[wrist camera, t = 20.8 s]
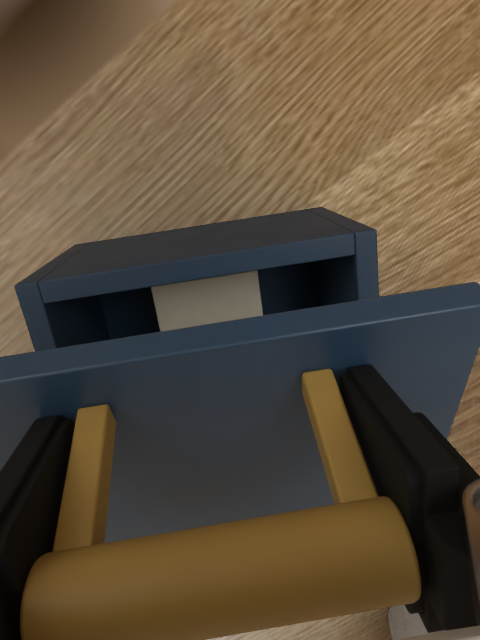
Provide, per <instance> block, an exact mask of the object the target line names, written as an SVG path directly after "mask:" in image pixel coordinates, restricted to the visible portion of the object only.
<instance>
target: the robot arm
mask: <svg viewBox="0 0 480 640" xmlns="http://www.w3.org/2000/svg"><path fill="white" fill-rule="evenodd" d="M339 387H340V393H341V396H342V398H343V401H344V404H345V406H346V409H347V412H348V415H349V417H350V420H351V423H352V425H353V428H354V431H355V434H356V436H357V439H358V442H359V444H360V447H361V450H362V452H363V455H364V458H365V461H366V463H367V466H368V469H369V471H370V474H371V477H372V480H373V482H374V485H375V488H376V490H377V493H378V496H379V497H380V496H386V497H389V498H391V499H392V500H393V501H394V502H395V504H396V505H397V507H398V508H399V510H400V512H401V513H402V515H403V517H404V519H405V521H406V524H407V526H408V529H409V531H410V534H411V537H412V540H413V543H414V546H415V550H416V554H417V558H418V563H419V568H420V576H421V595H420V598H419V599H418V600H417V601H416V602H415V603H411V604H406V605H405V607H406V609H407V611H408V612H409V613H410V614H415V613H418V614H419V616H420V618H421V620H422V622H423V624H424V626H425V628H426V630H427V632H428V633H430V634H425V635H419V636H413V637H407V638H401V639H395V640H480V476H479V475H478V474H477V473H476V472H475V471H474V470H473V468H472V467H471V466H470V465H469V464H468V463H467V462H466V461H465V459H464V458H463V457H462V456H461V455H460V454H459V453H458V452H457V451H456V449H455V448H454V447H453V446H452V445H451V444H450V443H449V442H448V441H447V439H446V438H445V437H444V436H443V435H442V434H441V433H440V432H439V430H438V429H437V428H436V427H435V426H434V425H433V424H432V423H431V422H430V420H429V419H428V418H427V417H426V416H425V415H424V414H423V413H421V412H415V413H413V412H412V411H411V410H410V409H409V408H408V406H407V405H406V404H405V403H404V402H403V401H402V399H401V398H400V397H399V396H398V395H397V394H396V392H395V391H394V390H393V389H392V388H391V387H390V385H389V384H388V383H387V382H386V381H385V380H384V378H383V377H382V376H381V375H380V374H379V373H378V371H377V370H376V369H375V368H374V367H373V366H372V365H371V364H369V365H363V366H357V367H351V368H347V370H346V375H340V376H339ZM74 428H75V423H74V421H73V420H71V419H70V420H66V418H65V417H64V416H63V415H56V416H50V417H44V418H38V419H36V420H35V421H34V422H33V424H32V425H31V427H30V428H29V430H28V431H27V433H26V434H25V435H24V437H23V438H22V440H21V441H20V443H19V444H18V446H17V447H16V449H15V450H14V452H13V453H12V455H11V456H10V458H9V459H8V461H7V462H6V464H5V465H4V466H3V468H2V469H1V471H0V640H21V632H20V611H21V602H22V595H23V590H24V586H25V582H26V579H27V576H28V574H29V571H30V569H31V567H32V566H33V564H34V562H35V561H36V560H37V559H38V558H39V557H41V556H42V555H44V554H46V553H49V552H52V551H53V545H54V540H55V534H56V529H57V523H58V518H59V512H60V506H61V501H62V495H63V490H64V484H65V479H66V473H67V467H68V462H69V456H70V451H71V445H72V439H73V434H74ZM443 630H446V631H443ZM437 631H442V632H437ZM431 632H436V633H431Z"/></svg>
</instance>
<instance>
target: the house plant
mask: <svg viewBox="0 0 480 640" xmlns="http://www.w3.org/2000/svg"><path fill="white" fill-rule="evenodd" d="M388 622H389V627H390V631H391V635H392V640H395V639H401V638H407V637H413V636H419V635H425V634H430V633H428V632H427V630H426V628H425V626H424V624H423V622H422V620H421V618H420V616H419V614H418V613H415V614H410V613H409V612H408V611H407V609H406V607H405V605H400V606H394V607H390V609H389V613H388ZM443 631H446V630H443ZM437 632H442V631H437ZM431 633H436V632H431Z"/></svg>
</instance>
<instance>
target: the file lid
mask: <svg viewBox="0 0 480 640" xmlns="http://www.w3.org/2000/svg"><path fill="white" fill-rule="evenodd" d="M479 346H480V285H479V284H478V283H476V282H470V283H464V284H458V285H452V286H445V287H439V288H433V289H426V290H420V291H414V292H407V293H401V294H395V295H389V296H382V297H376V298H370V299H363V300H357V301H351V302H344V303H338V304H332V305H326V306H319V307H313V308H307V309H300V310H294V311H288V312H281V313H275V314H269V315H263V316H256V317H250V318H244V319H237V320H231V321H225V322H218V323H212V324H206V325H200V326H193V327H187V328H181V329H174V330H168V331H162V332H155V333H149V334H143V335H137V336H130V337H124V338H118V339H111V340H105V341H99V342H92V343H86V344H80V345H74V346H67V347H61V348H55V349H48V350H42V351H36V352H29V353H23V354H17V355H11V356H4V357H0V471H1V469H2V468H3V466H4V465H5V464H6V462H7V461H8V459H9V458H10V456H11V455H12V453H13V452H14V450H15V449H16V447H17V446H18V444H19V443H20V441H21V440H22V438H23V437H24V435H25V434H26V433H27V431H28V430H29V428H30V427H31V425H32V424H33V422H34V421H35V420H36V419H38V418H44V417H50V416H56V415H63V416H64V417H65V418H66V420H70V419H71V420H73V421H74V423H75V428H74V434H73V439H72V445H71V451H70V456H69V462H68V467H67V473H66V479H65V484H64V490H63V495H62V501H61V506H60V512H59V518H58V523H57V529H56V534H55V540H54V545H53V551H52V552H49V553H46V554H44V555H42V556H41V557H39V558H38V559H37V560H36V561H35V562H34V564H33V566H32V567H31V569H30V571H29V574H28V576H27V579H26V582H25V586H24V590H23V595H22V602H21V611H20V632H21V640H206V639H211V638H217V637H223V636H228V635H234V634H240V633H246V632H251V631H257V630H263V629H268V628H274V627H280V626H286V625H291V624H297V623H303V622H309V621H314V620H320V619H326V618H331V617H337V616H343V615H349V614H354V613H360V612H366V611H371V610H377V609H383V608H389V607H394V606H400V605H406V604H411V603H415V602H416V601H417V600H418V599H419V598H420V595H421V576H420V568H419V563H418V558H417V554H416V550H415V546H414V543H413V540H412V537H411V534H410V531H409V529H408V526H407V524H406V521H405V519H404V517H403V515H402V513H401V512H400V510H399V508H398V507H397V505H396V504H395V502H394V501H393V500H392V499H391V498H389V497H386V496H380V497H379V496H378V493H377V490H376V488H375V485H374V482H373V480H372V477H371V474H370V471H369V469H368V466H367V463H366V461H365V458H364V455H363V452H362V450H361V447H360V444H359V442H358V439H357V436H356V434H355V431H354V428H353V425H352V423H351V420H350V417H349V415H348V412H347V409H346V406H345V404H344V401H343V398H342V396H341V393H340V387H339V376H340V375H346V370H347V368H351V367H357V366H363V365H369V364H371V365H372V366H373V367H374V368H375V369H376V370H377V371H378V373H379V374H380V375H381V376H382V377H383V378H384V380H385V381H386V382H387V383H388V384H389V385H390V387H391V388H392V389H393V390H394V391H395V392H396V394H397V395H398V396H399V397H400V398H401V399H402V401H403V402H404V403H405V404H406V405H407V406H408V408H409V409H410V410H411V411H412V412H413V413H415V412H421V413H423V414H424V415H425V416H426V417H427V418H428V419H429V420H430V422H431V423H432V424H433V425H434V426H435V427H436V428H437V429H438V430H439V432H440V433H441V434H442V435H443V436H444V437H445V438H446V439H447V438H448V435H449V432H450V429H451V426H452V423H453V420H454V417H455V415H456V412H457V409H458V406H459V403H460V400H461V397H462V395H463V392H464V389H465V386H466V383H467V380H468V377H469V375H470V372H471V369H472V366H473V363H474V360H475V357H476V355H477V352H478V349H479Z"/></svg>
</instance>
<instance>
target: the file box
mask: <svg viewBox="0 0 480 640" xmlns="http://www.w3.org/2000/svg"><path fill="white" fill-rule="evenodd" d="M256 270H257V272H258V279H259V287H260V295H261V302H262V310H263V315H269V314H275V313H281V312H288V311H294V310H300V309H307V308H313V307H319V306H326V305H332V304H338V303H344V302H351V301H357V300H363V299H370V298H376V297H379V285H378V260H377V234H376V229H373V228H371V227H368V226H366V225H363V224H361V223H359V222H356V221H354V220H351V219H349V218H347V217H344V216H342V215H339V214H337V213H334V212H332V211H330V210H327V209H325V208H323V207H318V208H311V209H305V210H298V211H292V212H285V213H279V214H272V215H266V216H259V217H253V218H246V219H240V220H233V221H227V222H220V223H214V224H207V225H201V226H194V227H188V228H181V229H175V230H168V231H162V232H155V233H149V234H142V235H136V236H129V237H123V238H116V239H110V240H103V241H97V242H90V243H84V244H77V245H74V246H73V247H71V248H70V249H68V250H67V251H65V252H64V253H62V254H61V255H59V256H58V257H56V258H55V259H53V260H52V261H50V262H49V263H47V264H46V265H44V266H43V267H42V268H40V269H39V270H37V271H36V272H34V273H33V274H31V275H30V276H28V277H27V278H25V279H24V280H22V281H21V282H19V283H18V284H16V285H15V290H16V293H17V296H18V299H19V302H20V306H21V309H22V312H23V315H24V318H25V321H26V324H27V327H28V330H29V334H30V337H31V340H32V343H33V346H34V349H35V352H36V351H42V350H48V349H55V348H61V347H67V346H74V345H80V344H86V343H92V342H99V341H105V340H111V339H118V338H124V337H130V336H137V335H143V334H149V333H155V332H160V328H159V323H158V319H157V314H156V309H155V305H154V300H153V295H152V291H151V287H154V286H160V285H166V284H173V283H179V282H186V281H192V280H198V279H205V278H211V277H218V276H224V275H230V274H237V273H243V272H250V271H256Z"/></svg>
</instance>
